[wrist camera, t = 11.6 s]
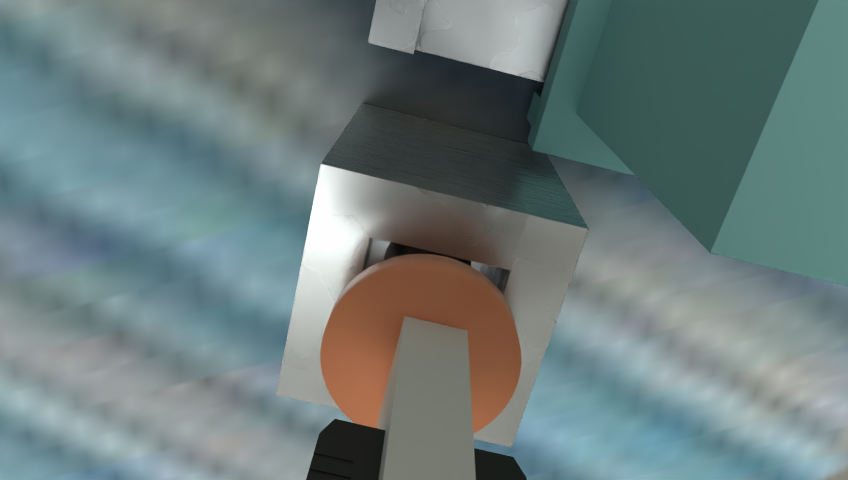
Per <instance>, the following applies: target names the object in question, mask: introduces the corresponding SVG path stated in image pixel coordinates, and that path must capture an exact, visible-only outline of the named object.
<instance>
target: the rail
mask: <svg viewBox="0 0 848 480" xmlns="http://www.w3.org/2000/svg"><path fill="white" fill-rule="evenodd" d="M569 1H570V0H376V5H375V9H374V14H373V19H372V24H371V29H370V34H369V39H368V43H371V44H375V45H379V46H383V47H387V48H391V49H395V50H399V51H403V52H407V53H411V54H414V52H415V50H419V51H422V52H426V53H430V54H434V55H438V56H442V57H446V58H450V59H454V60H458V61H462V62H466V63H469V64H473V65H477V66H481V67H485V68H489V69H493V70H497V71H501V72H505V73H509V74H513V75H516V76H520V77H524V78H528V79H532V80H536V81H540V82H544V83H545V80H546V77H547V74H548V71H549V67H550V64H551V61H552V57H553V54H554V51H555V47H556V44H557V41H558V38H559V34H560V31H561V28H562V24H563V21H564V18H565V15H566V11H567V8H568V5H569Z"/></svg>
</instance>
